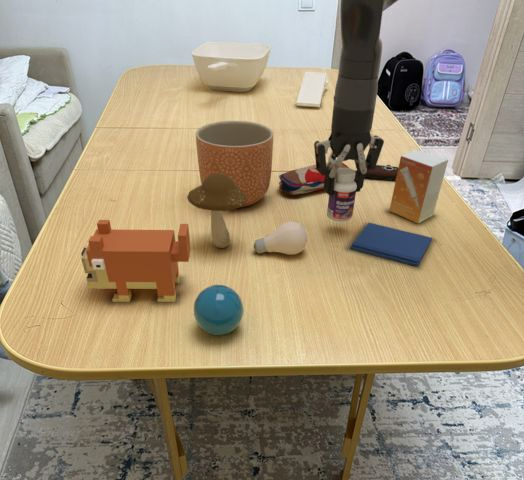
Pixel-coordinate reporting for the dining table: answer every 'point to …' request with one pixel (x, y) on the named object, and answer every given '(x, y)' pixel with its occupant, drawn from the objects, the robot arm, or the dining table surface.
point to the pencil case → (303, 180)
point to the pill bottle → (342, 196)
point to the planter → (237, 155)
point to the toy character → (135, 260)
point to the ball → (218, 309)
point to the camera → (383, 172)
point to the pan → (231, 64)
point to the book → (392, 244)
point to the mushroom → (217, 203)
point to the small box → (418, 185)
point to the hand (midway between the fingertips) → (342, 191)
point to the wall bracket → (312, 89)
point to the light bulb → (284, 239)
